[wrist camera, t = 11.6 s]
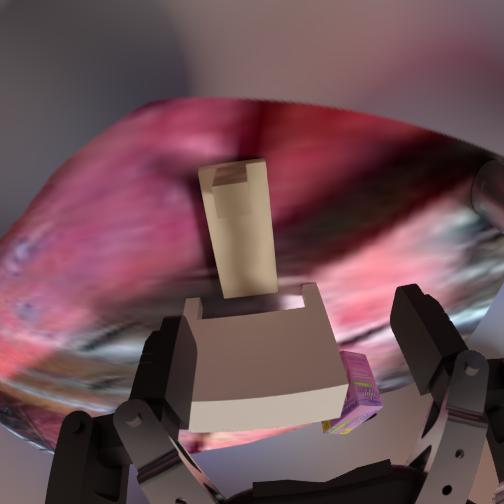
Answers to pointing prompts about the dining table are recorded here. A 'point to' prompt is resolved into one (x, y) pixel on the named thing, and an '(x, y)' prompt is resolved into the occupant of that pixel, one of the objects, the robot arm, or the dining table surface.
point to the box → (355, 395)
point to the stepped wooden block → (240, 226)
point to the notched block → (265, 368)
